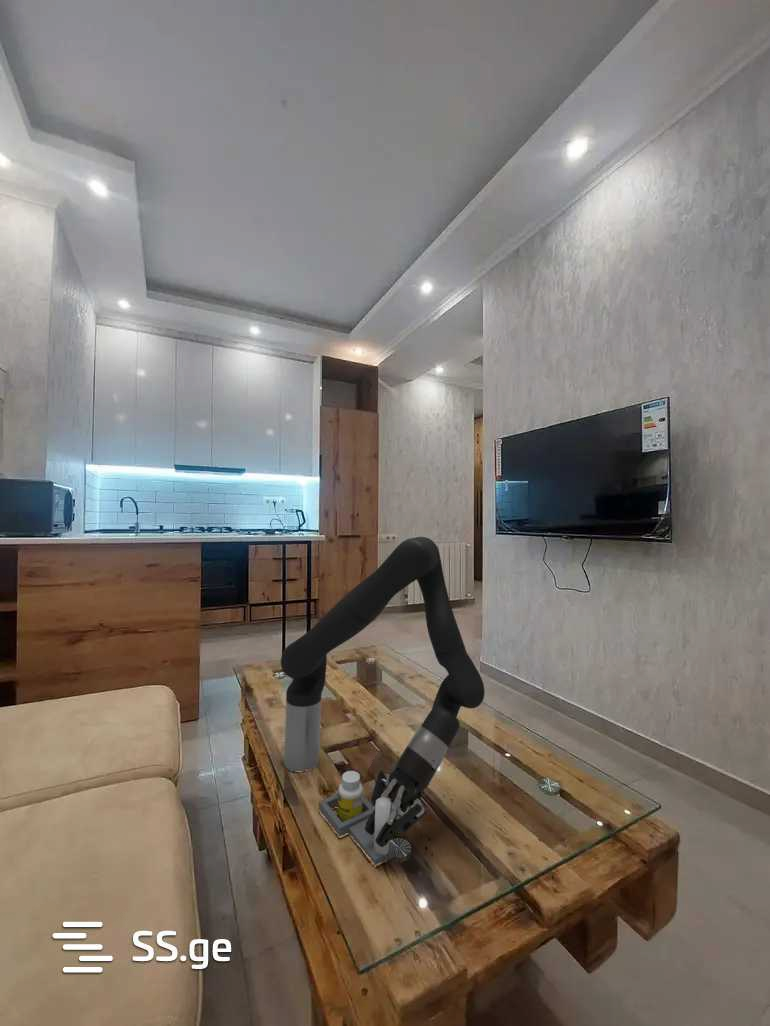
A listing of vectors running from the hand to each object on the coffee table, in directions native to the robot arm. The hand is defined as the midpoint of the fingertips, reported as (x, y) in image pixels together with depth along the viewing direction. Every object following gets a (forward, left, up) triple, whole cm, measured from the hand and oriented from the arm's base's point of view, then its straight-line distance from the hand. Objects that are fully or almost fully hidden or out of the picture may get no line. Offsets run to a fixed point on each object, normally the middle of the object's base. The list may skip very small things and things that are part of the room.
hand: (373, 838), depth 84 cm
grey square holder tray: (-8, +2, -5) cm, 10 cm away
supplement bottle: (-12, +2, -5) cm, 13 cm away
